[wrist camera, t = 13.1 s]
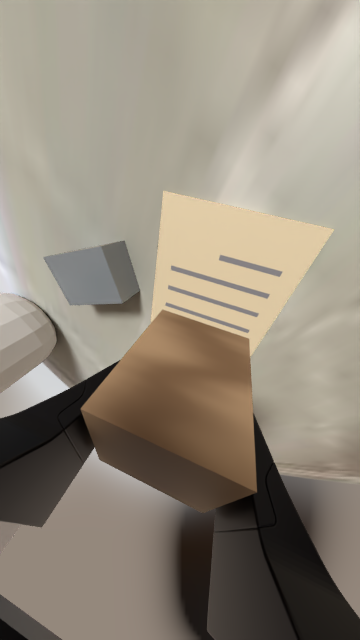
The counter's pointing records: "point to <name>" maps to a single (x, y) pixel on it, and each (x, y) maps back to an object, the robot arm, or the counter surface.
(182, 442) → the walnut cube
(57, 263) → the paperweight
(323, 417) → the counter surface
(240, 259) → the letter
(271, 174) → the counter surface
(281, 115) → the counter surface
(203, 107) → the counter surface
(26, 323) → the soap bottle
